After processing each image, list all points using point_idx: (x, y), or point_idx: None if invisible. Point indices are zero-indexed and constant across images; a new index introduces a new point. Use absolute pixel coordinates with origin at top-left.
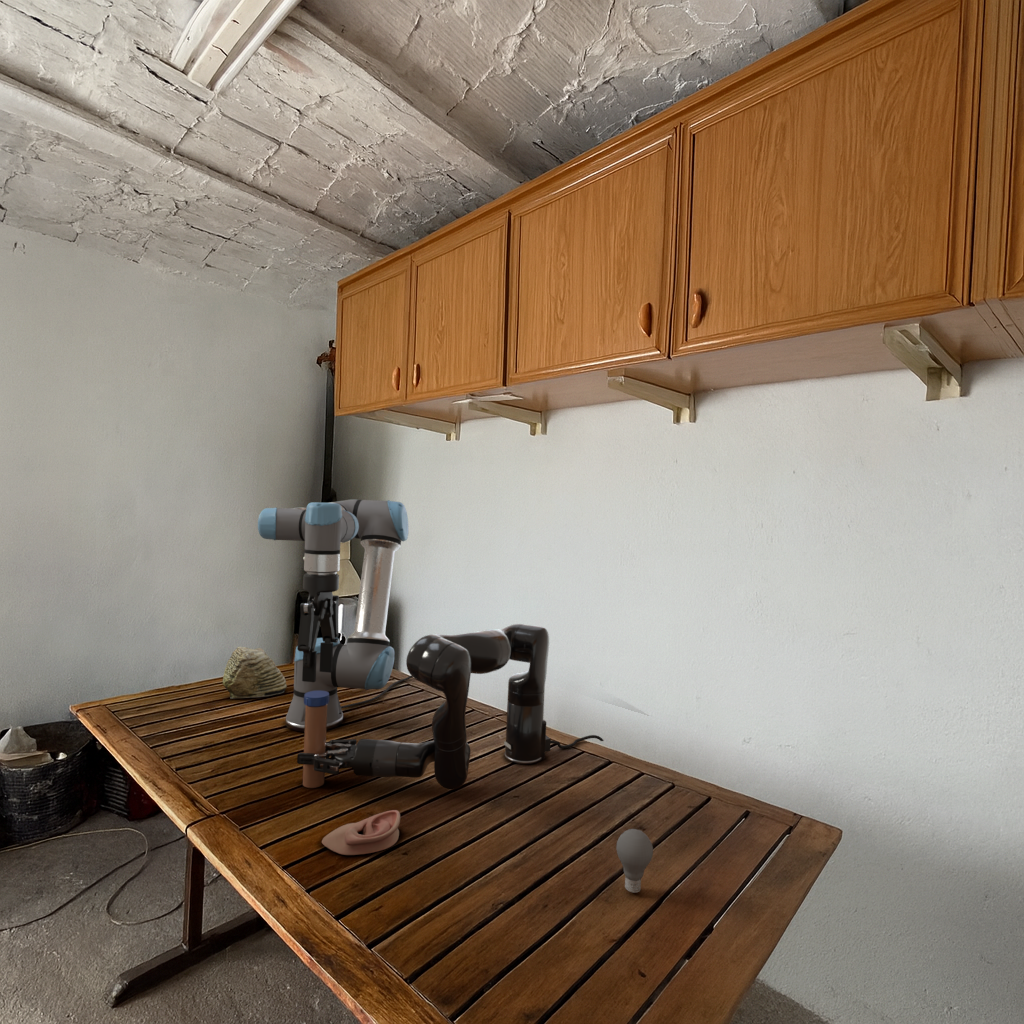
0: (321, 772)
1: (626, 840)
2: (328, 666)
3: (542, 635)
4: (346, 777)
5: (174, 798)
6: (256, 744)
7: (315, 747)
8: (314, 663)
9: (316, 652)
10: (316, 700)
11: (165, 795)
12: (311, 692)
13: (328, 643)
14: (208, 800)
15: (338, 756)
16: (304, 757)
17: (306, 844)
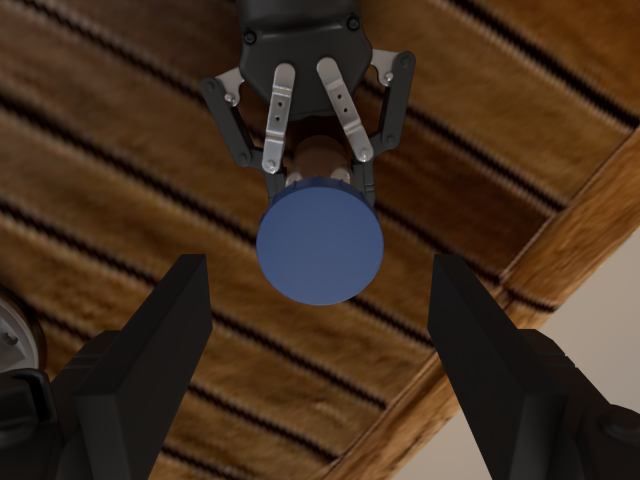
0: (331, 141)
1: None
2: (196, 290)
3: None
4: None
5: (452, 394)
6: None
7: (351, 169)
8: (511, 322)
9: (526, 384)
10: (378, 218)
11: (443, 414)
12: (304, 284)
13: (113, 432)
14: None
15: (354, 79)
16: (374, 188)
17: (621, 27)
